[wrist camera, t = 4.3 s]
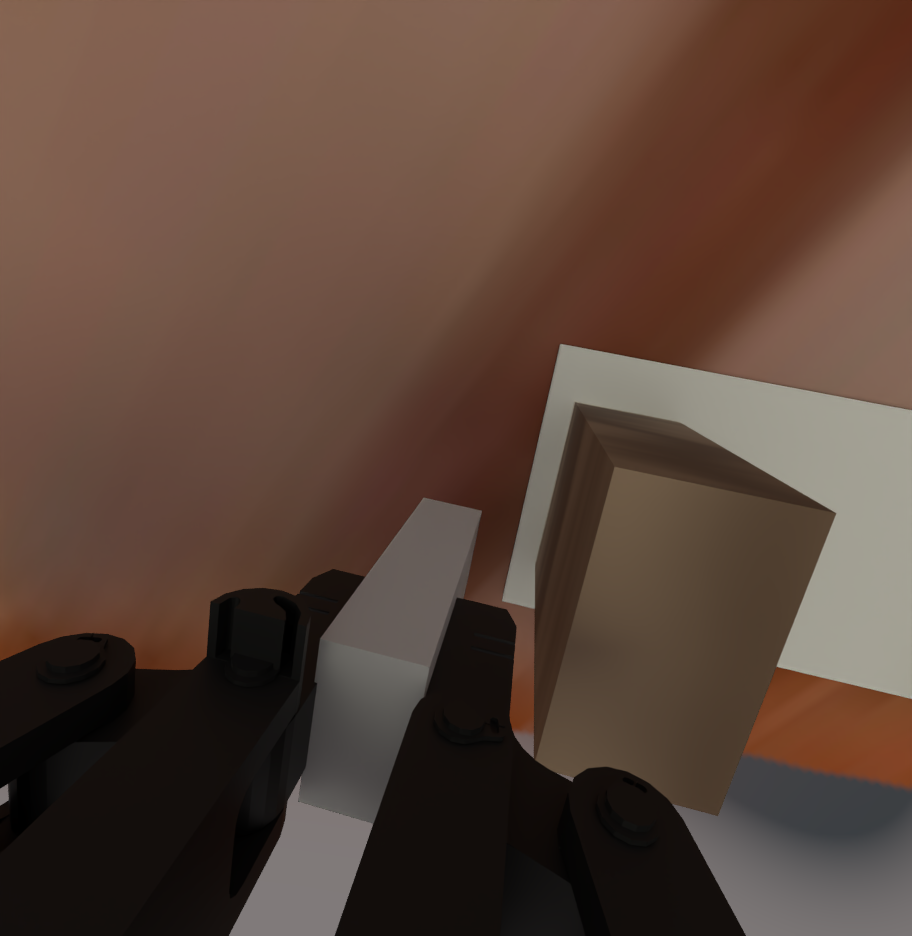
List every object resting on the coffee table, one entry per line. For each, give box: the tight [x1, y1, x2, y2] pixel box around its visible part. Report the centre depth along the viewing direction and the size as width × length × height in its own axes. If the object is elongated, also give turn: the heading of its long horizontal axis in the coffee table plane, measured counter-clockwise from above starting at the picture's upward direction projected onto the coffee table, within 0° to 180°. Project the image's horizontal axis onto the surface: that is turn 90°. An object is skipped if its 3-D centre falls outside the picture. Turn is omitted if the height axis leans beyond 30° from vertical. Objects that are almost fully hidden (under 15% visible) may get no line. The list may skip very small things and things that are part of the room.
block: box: [534, 401, 836, 816], centre depth 16 cm, size 4×7×11 cm, turn 170°
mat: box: [502, 344, 912, 699], centre depth 20 cm, size 18×11×2 cm, turn 80°
